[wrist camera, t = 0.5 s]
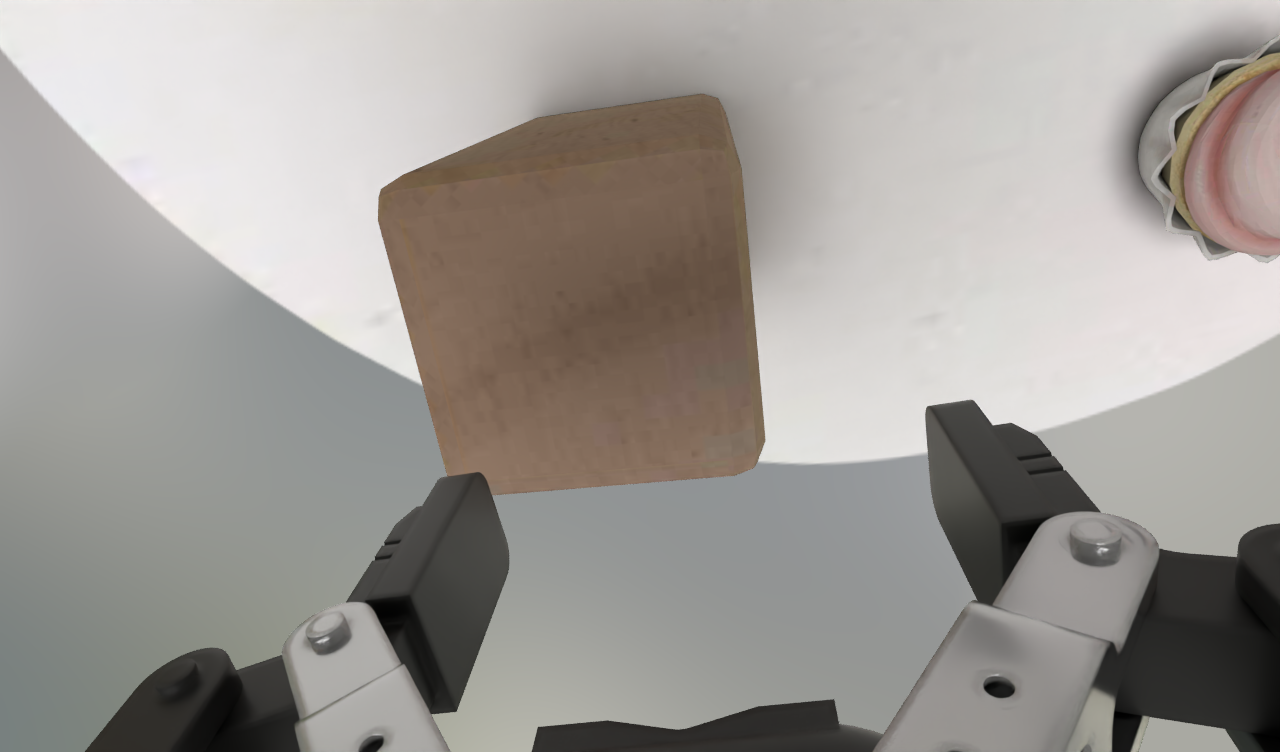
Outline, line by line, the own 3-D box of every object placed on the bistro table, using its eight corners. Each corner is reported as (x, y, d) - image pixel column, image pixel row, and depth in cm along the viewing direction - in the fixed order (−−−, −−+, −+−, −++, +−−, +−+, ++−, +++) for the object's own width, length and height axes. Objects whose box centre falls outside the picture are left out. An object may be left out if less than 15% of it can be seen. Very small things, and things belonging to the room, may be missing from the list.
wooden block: (521, 118, 38) (352, 185, 20) (722, 89, 37) (739, 132, 19) (558, 309, 42) (443, 512, 24) (741, 288, 41) (770, 486, 22)
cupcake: (1063, 207, 38) (1176, 259, 29) (1169, 5, 34) (1338, -10, 25) (1238, 263, 38) (1405, 333, 29) (1362, 70, 35) (1598, 79, 25)
